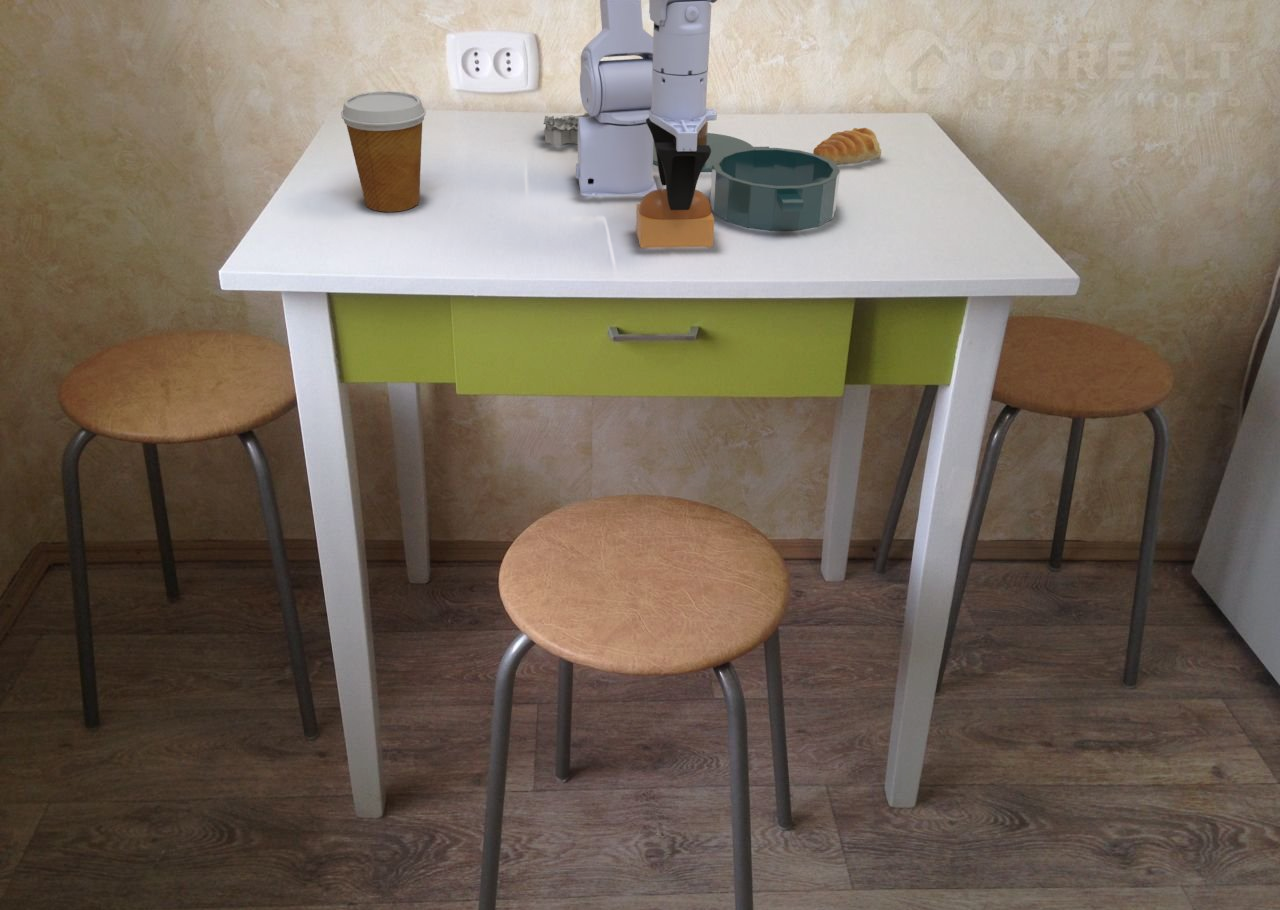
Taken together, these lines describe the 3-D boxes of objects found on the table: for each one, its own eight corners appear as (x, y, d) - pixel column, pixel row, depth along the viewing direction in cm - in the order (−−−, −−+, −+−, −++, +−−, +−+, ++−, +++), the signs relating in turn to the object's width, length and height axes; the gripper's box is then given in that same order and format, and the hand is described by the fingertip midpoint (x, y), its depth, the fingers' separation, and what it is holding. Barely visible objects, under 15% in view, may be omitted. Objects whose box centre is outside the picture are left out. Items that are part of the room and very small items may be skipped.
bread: (640, 251, 125) (641, 198, 121) (635, 234, 129) (637, 183, 126) (712, 250, 125) (715, 197, 122) (705, 233, 130) (708, 182, 126)
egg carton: (621, 135, 161) (622, 106, 158) (620, 152, 154) (620, 121, 152) (545, 133, 161) (545, 103, 158) (541, 149, 154) (540, 119, 152)
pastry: (836, 174, 148) (839, 144, 146) (799, 160, 153) (801, 132, 151) (884, 160, 153) (887, 132, 151) (846, 148, 158) (849, 120, 156)
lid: (645, 177, 146) (646, 140, 143) (633, 140, 159) (634, 106, 156) (765, 175, 147) (768, 139, 145) (744, 139, 160) (746, 105, 158)
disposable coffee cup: (402, 184, 141) (393, 85, 135) (448, 204, 136) (441, 102, 129) (335, 201, 136) (323, 99, 129) (381, 223, 130) (370, 117, 124)
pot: (725, 244, 127) (728, 197, 124) (699, 184, 144) (701, 141, 141) (853, 242, 128) (859, 195, 125) (813, 183, 145) (817, 140, 142)
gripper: (730, 87, 111) (721, 220, 119) (708, 51, 123) (701, 173, 131) (658, 87, 111) (654, 221, 118) (643, 51, 123) (640, 174, 130)
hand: (674, 196), depth 124 cm, fingers open, 7 cm apart
